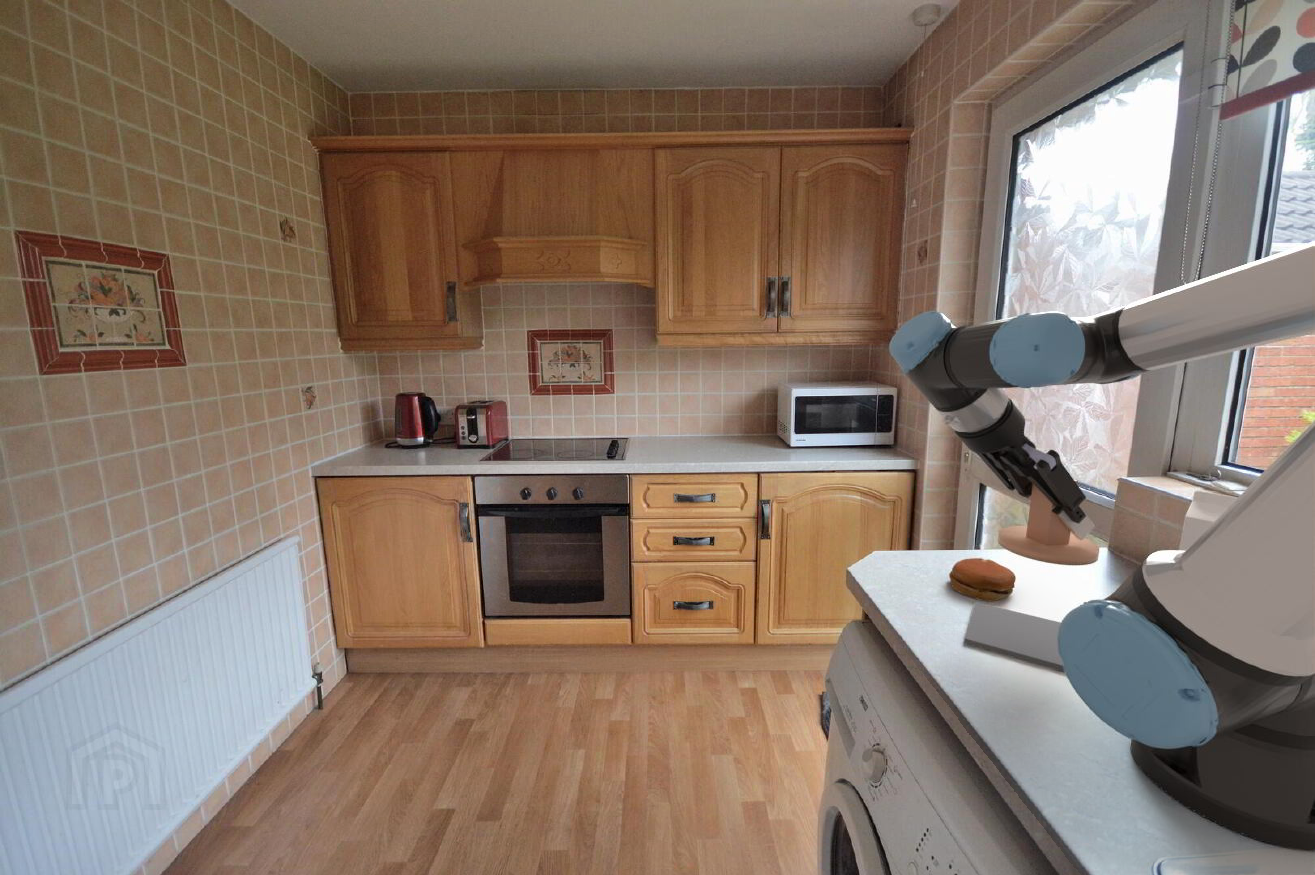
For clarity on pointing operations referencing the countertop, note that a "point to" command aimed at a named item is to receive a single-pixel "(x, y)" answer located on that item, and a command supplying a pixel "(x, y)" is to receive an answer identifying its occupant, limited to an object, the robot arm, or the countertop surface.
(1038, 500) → the lid
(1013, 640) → the mat
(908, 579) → the countertop surface
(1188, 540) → the milk
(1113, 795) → the countertop surface
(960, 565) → the burger
